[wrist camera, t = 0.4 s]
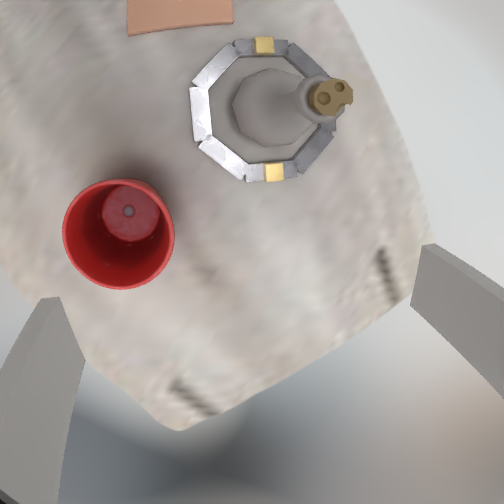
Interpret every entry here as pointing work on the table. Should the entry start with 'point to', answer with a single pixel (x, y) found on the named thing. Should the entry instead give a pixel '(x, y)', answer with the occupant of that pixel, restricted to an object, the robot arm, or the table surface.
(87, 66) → the table surface
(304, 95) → the potion bottle
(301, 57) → the collar
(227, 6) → the coaster
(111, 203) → the flower pot
